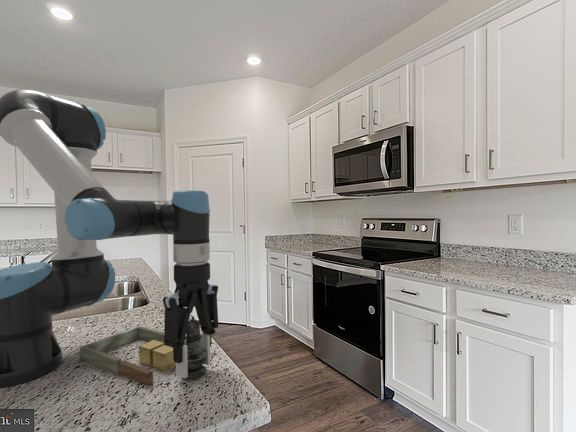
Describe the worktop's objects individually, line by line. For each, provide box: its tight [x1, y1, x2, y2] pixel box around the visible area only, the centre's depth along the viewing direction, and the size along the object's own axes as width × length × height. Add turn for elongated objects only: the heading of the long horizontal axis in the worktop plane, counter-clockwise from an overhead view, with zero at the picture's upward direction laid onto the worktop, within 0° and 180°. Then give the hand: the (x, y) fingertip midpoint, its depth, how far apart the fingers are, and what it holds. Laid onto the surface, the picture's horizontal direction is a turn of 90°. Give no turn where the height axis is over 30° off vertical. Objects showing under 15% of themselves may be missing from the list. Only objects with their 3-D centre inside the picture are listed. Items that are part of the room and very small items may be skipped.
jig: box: [79, 325, 186, 386], centre depth 79 cm, size 16×25×3 cm, turn 60°
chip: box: [138, 340, 164, 367], centre depth 77 cm, size 4×4×4 cm
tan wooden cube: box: [152, 345, 176, 372], centre depth 75 cm, size 4×4×4 cm
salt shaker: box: [185, 315, 207, 378], centre depth 70 cm, size 6×6×12 cm
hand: (193, 369), depth 70 cm, fingers closed on salt shaker, 6 cm apart
